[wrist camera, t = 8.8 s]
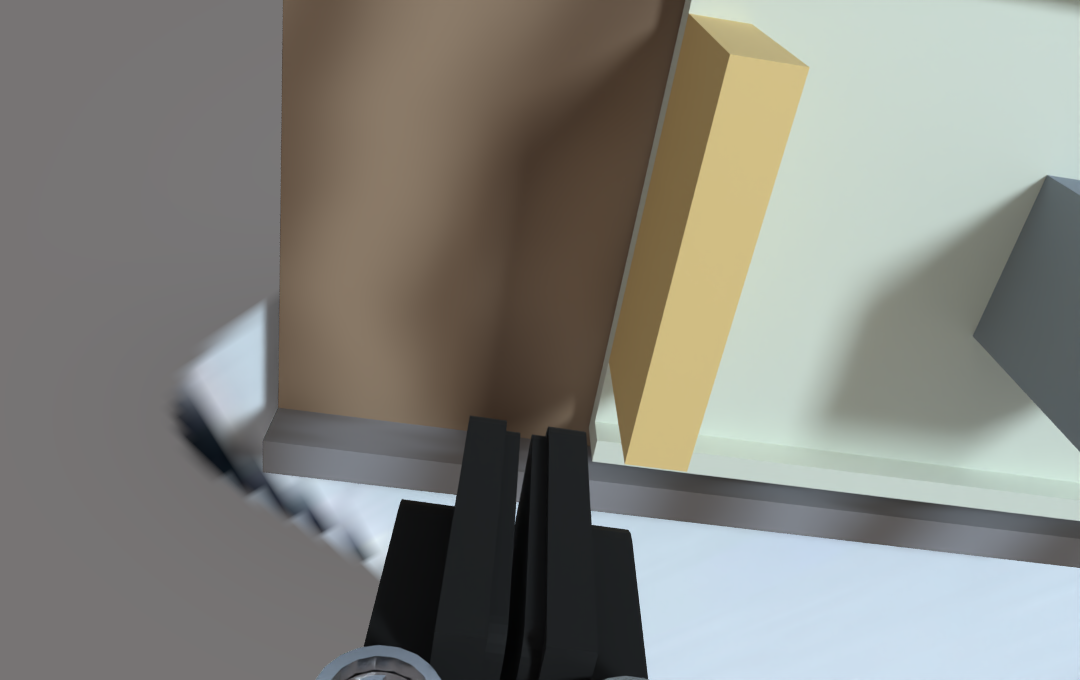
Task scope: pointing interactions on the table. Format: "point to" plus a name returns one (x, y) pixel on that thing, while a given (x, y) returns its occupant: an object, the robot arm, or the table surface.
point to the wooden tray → (844, 250)
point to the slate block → (1042, 307)
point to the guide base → (501, 259)
